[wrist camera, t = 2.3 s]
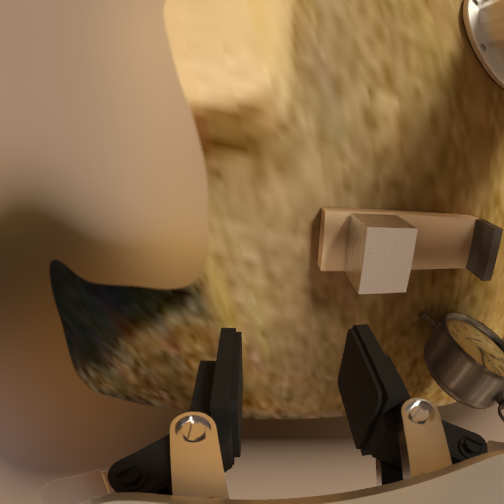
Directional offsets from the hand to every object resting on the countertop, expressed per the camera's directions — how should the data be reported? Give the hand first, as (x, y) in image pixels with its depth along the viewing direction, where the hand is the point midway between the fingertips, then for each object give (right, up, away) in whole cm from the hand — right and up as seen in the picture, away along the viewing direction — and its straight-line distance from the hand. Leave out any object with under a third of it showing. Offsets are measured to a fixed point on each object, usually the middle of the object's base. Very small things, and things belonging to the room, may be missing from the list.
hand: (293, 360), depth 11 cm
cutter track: (+12, +5, +14) cm, 19 cm away
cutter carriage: (+8, +5, +13) cm, 16 cm away
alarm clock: (+20, -4, +18) cm, 27 cm away
